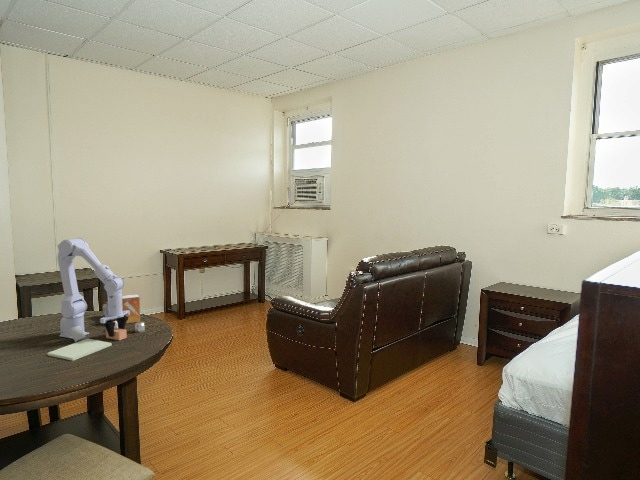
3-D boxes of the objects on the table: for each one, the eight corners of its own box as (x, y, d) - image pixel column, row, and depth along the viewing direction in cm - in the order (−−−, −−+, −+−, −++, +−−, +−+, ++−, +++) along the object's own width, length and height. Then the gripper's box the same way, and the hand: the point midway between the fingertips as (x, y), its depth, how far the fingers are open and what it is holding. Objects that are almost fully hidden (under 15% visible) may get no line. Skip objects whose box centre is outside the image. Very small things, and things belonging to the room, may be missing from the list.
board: (47, 355, 164) (47, 352, 164) (87, 340, 180) (87, 338, 180) (73, 360, 159) (73, 358, 159) (111, 345, 176) (111, 343, 175)
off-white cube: (110, 331, 194) (110, 322, 194) (117, 328, 198) (117, 320, 197) (117, 332, 193) (116, 323, 192) (123, 329, 196) (123, 321, 196)
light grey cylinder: (133, 332, 193) (133, 323, 193) (140, 329, 197) (139, 321, 196) (140, 333, 192) (140, 324, 191) (146, 330, 195) (146, 322, 195)
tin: (123, 320, 211) (123, 304, 210) (118, 321, 208) (117, 305, 207) (107, 315, 219) (106, 299, 218) (101, 316, 216) (100, 301, 215)
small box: (123, 324, 204) (122, 298, 203) (120, 321, 209) (120, 295, 208) (140, 321, 209) (139, 296, 207) (138, 318, 214) (137, 293, 213)
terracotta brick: (105, 338, 185) (105, 330, 184) (113, 335, 188) (113, 327, 188) (119, 340, 182) (119, 332, 181) (126, 337, 185) (126, 329, 185)
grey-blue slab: (68, 330, 180) (71, 328, 179) (77, 327, 183) (79, 325, 183) (75, 342, 179) (77, 339, 178) (83, 339, 182) (86, 336, 182)
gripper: (108, 309, 175) (109, 340, 177) (134, 302, 189) (135, 330, 190) (96, 308, 178) (97, 338, 179) (122, 300, 191) (123, 328, 193)
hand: (116, 334), depth 185 cm, fingers open, 5 cm apart
